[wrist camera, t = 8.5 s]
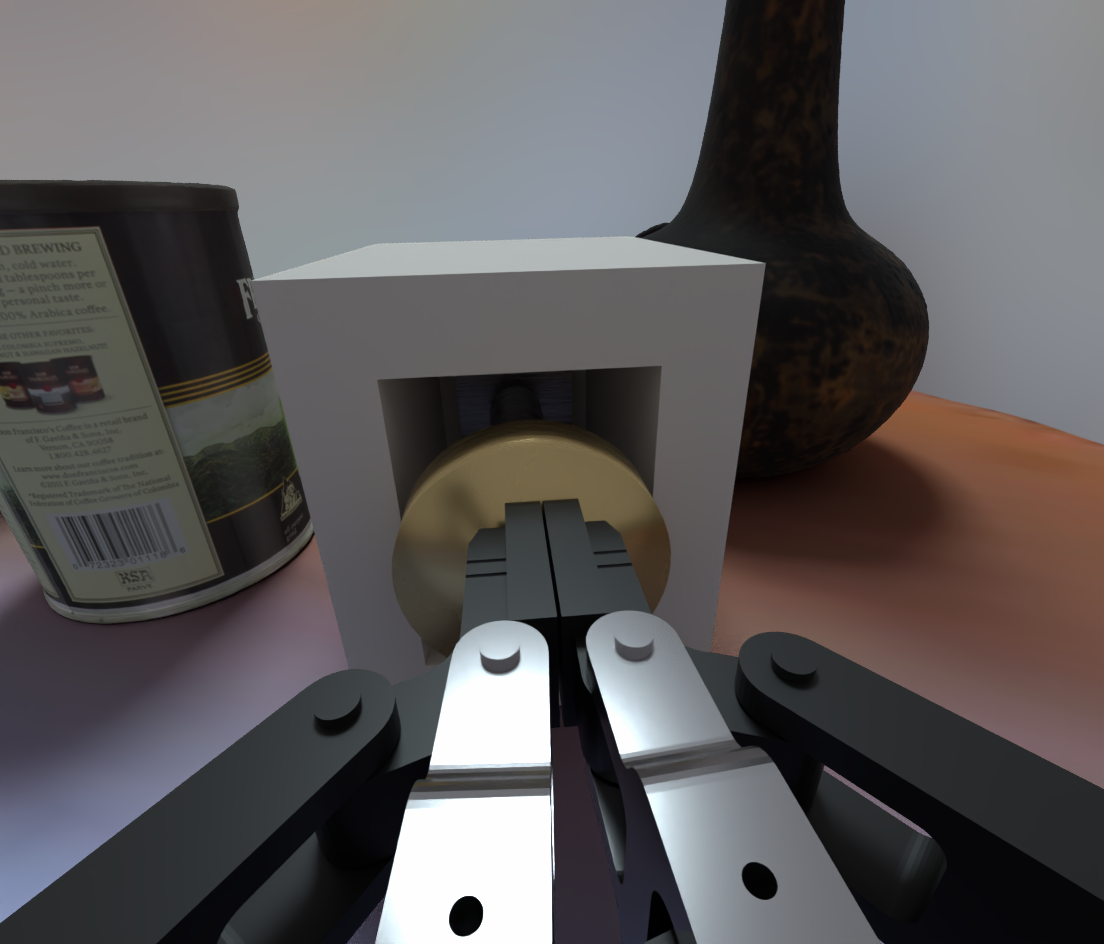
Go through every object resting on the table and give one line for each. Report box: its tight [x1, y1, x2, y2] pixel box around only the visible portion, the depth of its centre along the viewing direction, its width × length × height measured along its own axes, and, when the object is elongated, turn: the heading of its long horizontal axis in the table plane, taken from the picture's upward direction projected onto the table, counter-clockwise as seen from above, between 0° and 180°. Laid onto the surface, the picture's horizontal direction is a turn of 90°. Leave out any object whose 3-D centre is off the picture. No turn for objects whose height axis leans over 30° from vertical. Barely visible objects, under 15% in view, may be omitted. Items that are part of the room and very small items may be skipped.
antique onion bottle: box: [636, 0, 929, 478], centre depth 26 cm, size 18×18×28 cm
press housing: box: [250, 236, 766, 705], centre depth 18 cm, size 12×10×12 cm
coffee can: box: [0, 180, 314, 624], centre depth 21 cm, size 10×10×14 cm
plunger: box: [392, 370, 671, 658], centre depth 17 cm, size 12×6×6 cm, turn 6°
